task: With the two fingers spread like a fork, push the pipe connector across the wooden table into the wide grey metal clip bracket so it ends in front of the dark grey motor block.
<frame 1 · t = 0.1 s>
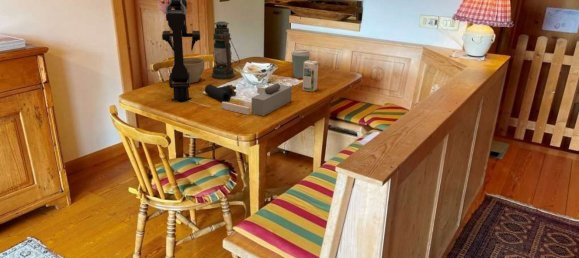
hand: (182, 50, 223), 15 cm above the table, tool pointing down, fingers open, 9 cm apart
syrup box: (309, 90, 217), on the table
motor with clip: (253, 102, 196), on the table
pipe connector: (223, 97, 204), on the table
disposable coffee cup: (299, 77, 240), on the table
planter bowl: (190, 81, 226), on the table
lantern: (224, 76, 237), on the table
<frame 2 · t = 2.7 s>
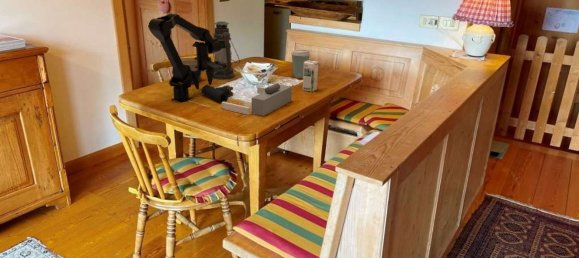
hand: (204, 87, 208), 3 cm above the table, tool pointing down, fingers open, 9 cm apart
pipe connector: (220, 98, 203), on the table
everything else where it was.
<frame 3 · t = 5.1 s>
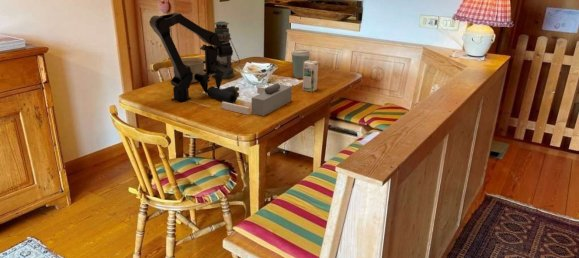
hand: (212, 90, 206), 2 cm above the table, tool pointing down, fingers open, 9 cm apart
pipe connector: (227, 99, 201), on the table, touching gripper
everything else where it was.
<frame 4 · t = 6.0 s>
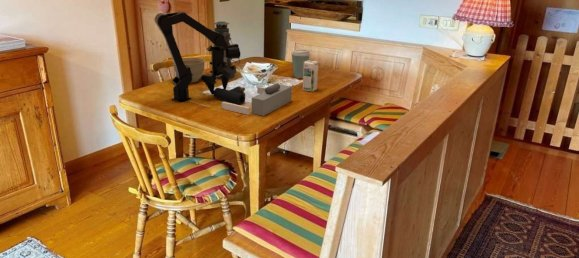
hand: (218, 92, 204), 2 cm above the table, tool pointing down, fingers open, 9 cm apart
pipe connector: (234, 99, 201), on the table
everything else where it was.
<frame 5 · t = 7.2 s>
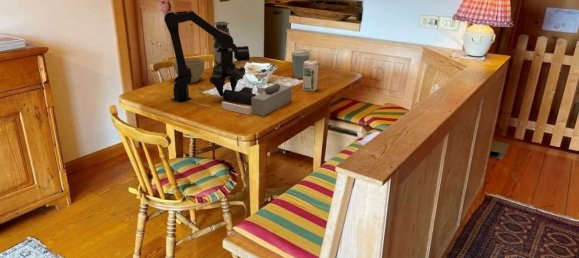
hand: (227, 93, 202), 2 cm above the table, tool pointing down, fingers open, 9 cm apart
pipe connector: (243, 100, 200), on the table
everything else where it was.
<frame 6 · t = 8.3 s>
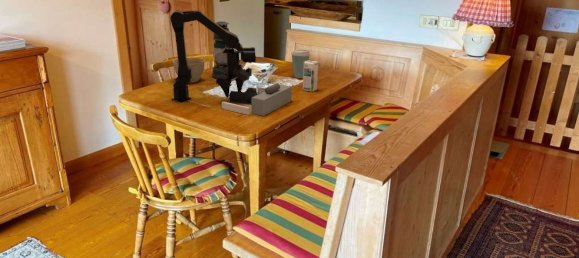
hand: (233, 95, 200), 2 cm above the table, tool pointing down, fingers open, 9 cm apart
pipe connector: (248, 101, 200), on the table
everything else where it was.
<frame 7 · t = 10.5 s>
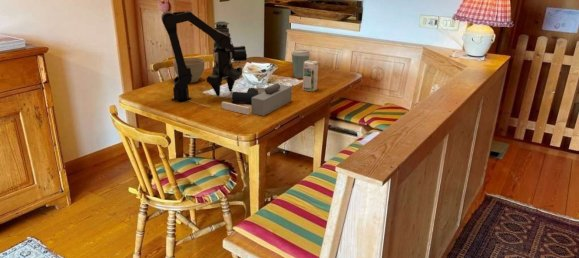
hand: (224, 93, 203), 1 cm above the table, tool pointing down, fingers open, 9 cm apart
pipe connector: (250, 101, 199), on the table
everything else where it was.
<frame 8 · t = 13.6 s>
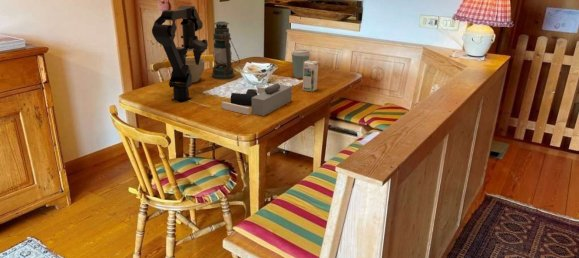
hand: (190, 66, 204), 12 cm above the table, tool pointing down, fingers open, 9 cm apart
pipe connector: (249, 102, 197), on the table
everything else where it was.
at the end: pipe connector inside the target area (1.7 cm from its centre), on the table; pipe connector moved 14.8 cm from its start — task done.
